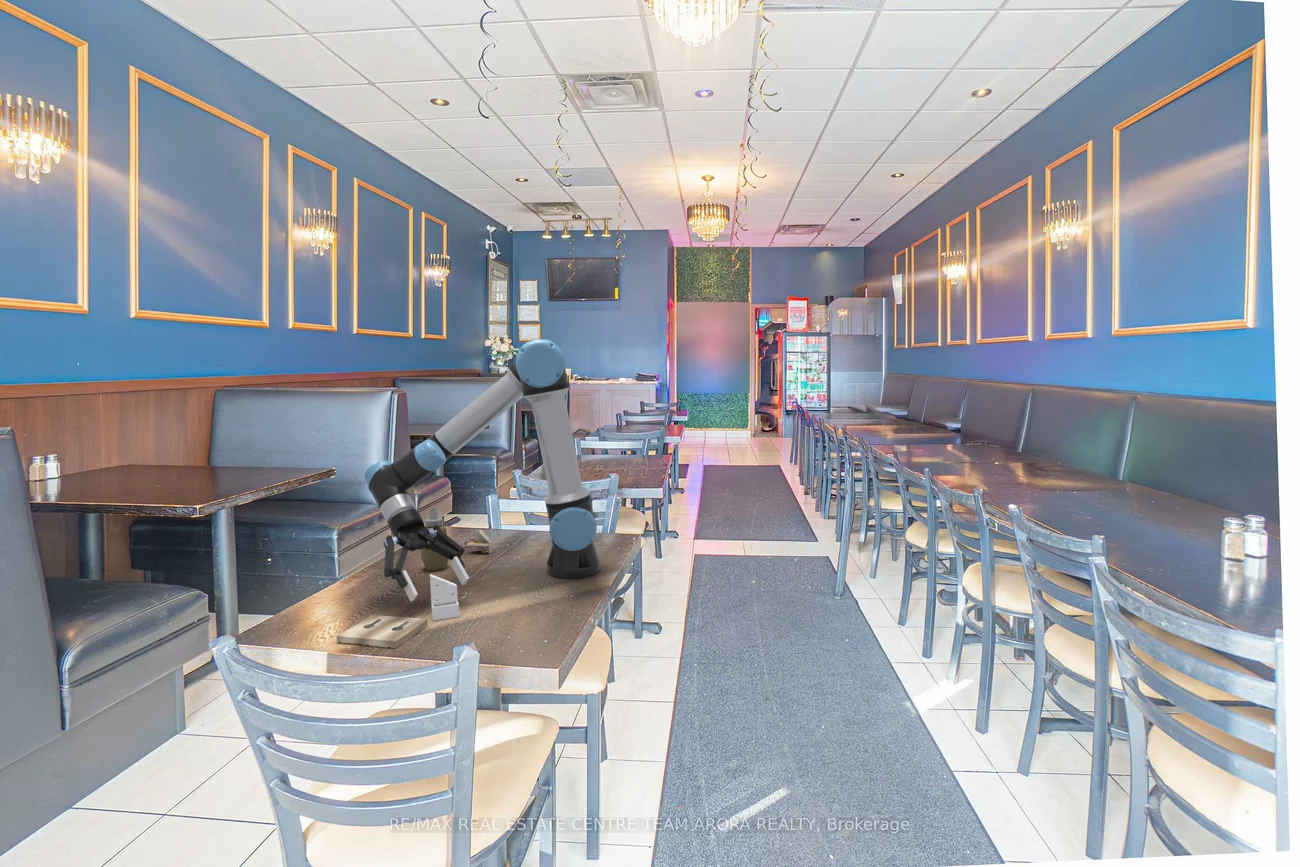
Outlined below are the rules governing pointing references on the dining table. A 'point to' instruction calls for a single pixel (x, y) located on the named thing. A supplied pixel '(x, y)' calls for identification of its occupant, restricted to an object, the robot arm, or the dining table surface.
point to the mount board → (382, 631)
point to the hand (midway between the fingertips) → (440, 589)
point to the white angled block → (443, 598)
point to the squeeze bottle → (428, 556)
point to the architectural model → (482, 541)
